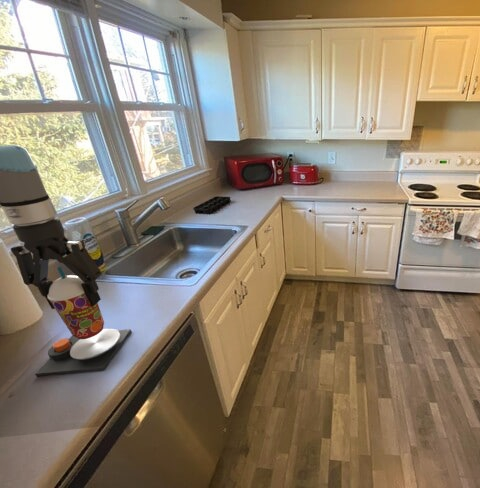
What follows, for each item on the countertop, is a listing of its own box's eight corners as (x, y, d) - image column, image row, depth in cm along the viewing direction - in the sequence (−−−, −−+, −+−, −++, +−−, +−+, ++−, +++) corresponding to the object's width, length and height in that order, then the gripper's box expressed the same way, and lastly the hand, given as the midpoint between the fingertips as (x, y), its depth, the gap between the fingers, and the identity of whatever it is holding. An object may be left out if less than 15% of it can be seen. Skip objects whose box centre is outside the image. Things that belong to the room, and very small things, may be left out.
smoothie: (90, 345, 71) (56, 278, 62) (61, 341, 72) (24, 275, 63) (117, 322, 78) (90, 260, 69) (91, 319, 79) (61, 258, 70)
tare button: (52, 352, 74) (49, 347, 74) (61, 343, 77) (58, 339, 77) (65, 351, 75) (62, 346, 74) (73, 342, 78) (71, 337, 77)
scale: (34, 377, 71) (28, 369, 69) (73, 337, 83) (68, 329, 82) (104, 370, 72) (100, 362, 71) (131, 332, 85) (128, 324, 83)
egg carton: (192, 214, 180) (190, 209, 178) (208, 201, 207) (207, 196, 205) (219, 214, 180) (218, 208, 178) (232, 200, 207) (231, 195, 205)
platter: (59, 361, 71) (59, 360, 71) (87, 331, 81) (87, 330, 81) (105, 357, 72) (105, 356, 72) (127, 328, 82) (127, 326, 82)
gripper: (-37, 229, 57) (18, 317, 66) (76, 224, 59) (112, 310, 68) (-2, 216, 63) (43, 298, 73) (98, 212, 65) (128, 292, 75)
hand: (76, 304), depth 71 cm, fingers closed on smoothie, 8 cm apart
